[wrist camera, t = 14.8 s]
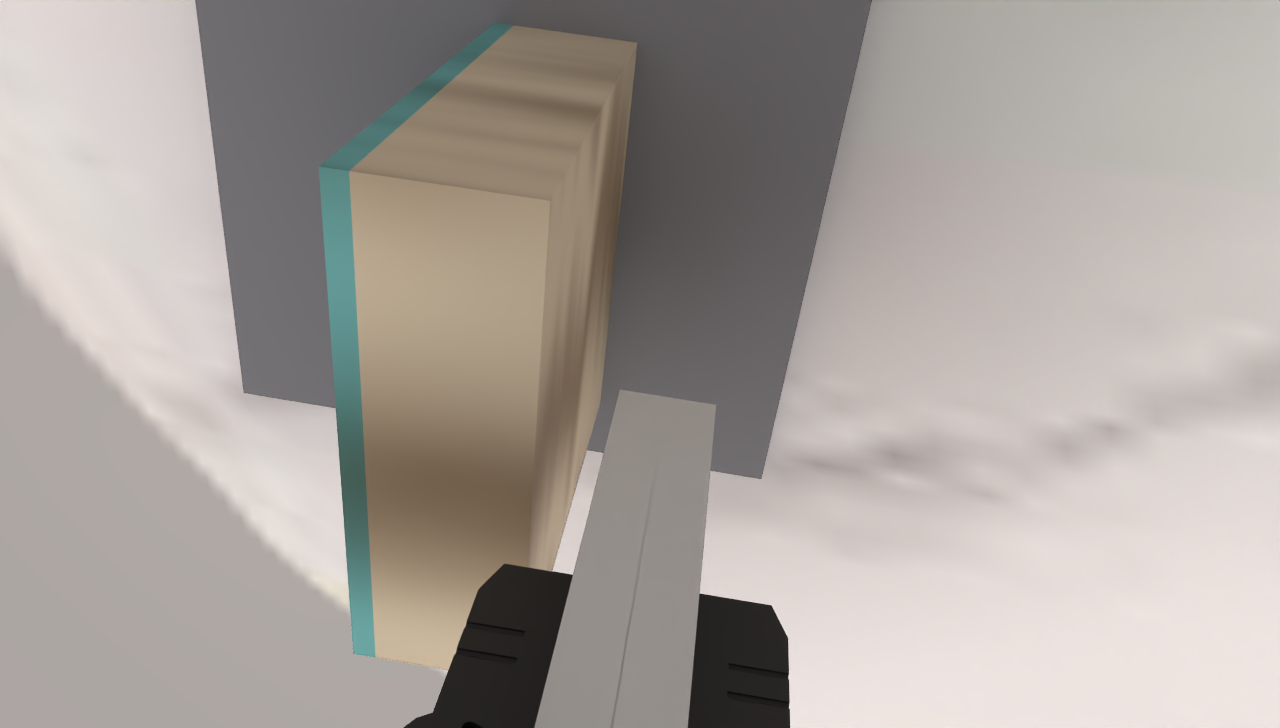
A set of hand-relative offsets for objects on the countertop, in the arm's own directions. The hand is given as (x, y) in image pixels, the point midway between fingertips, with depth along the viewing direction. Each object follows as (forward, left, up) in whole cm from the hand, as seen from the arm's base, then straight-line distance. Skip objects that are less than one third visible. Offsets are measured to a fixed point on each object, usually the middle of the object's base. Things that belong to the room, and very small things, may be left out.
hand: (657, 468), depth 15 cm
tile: (0, -3, -8) cm, 9 cm away
